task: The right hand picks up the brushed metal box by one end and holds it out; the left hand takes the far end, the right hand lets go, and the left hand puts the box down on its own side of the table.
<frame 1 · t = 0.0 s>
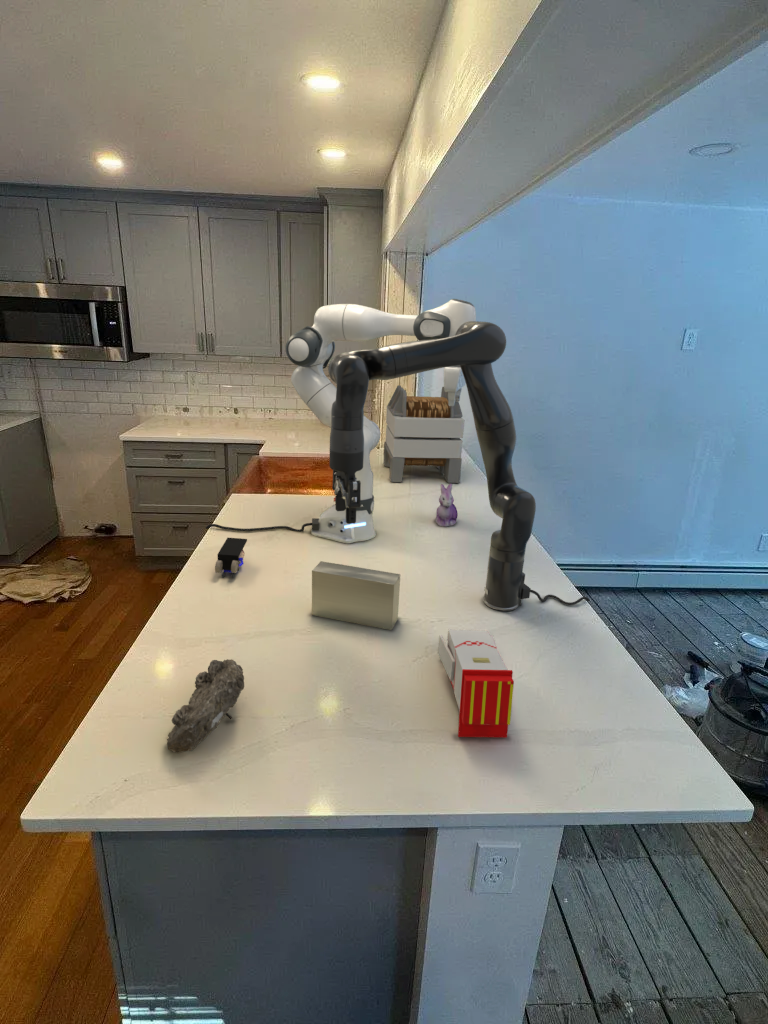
left hand: (454, 403, 174), 48 cm above the counter, tool pointing down, fingers open, 8 cm apart
right hand: (345, 516, 130), 29 cm above the counter, tool pointing down, fingers open, 8 cm apart
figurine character: (232, 569, 168), on the counter
toy: (469, 691, 119), on the counter
transformer: (419, 473, 275), on the counter
fossil: (212, 717, 108), on the counter
box: (354, 616, 145), on the counter
figurine: (446, 523, 212), on the counter
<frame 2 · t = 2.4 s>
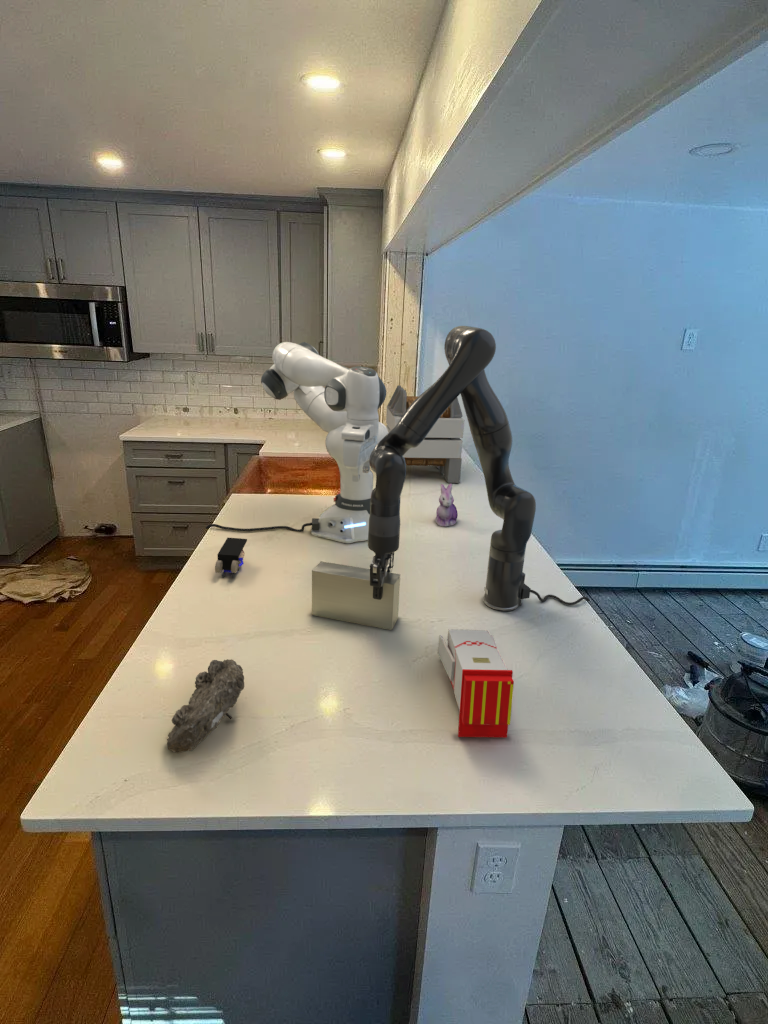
left hand: (361, 476, 160), 30 cm above the counter, tool pointing down, fingers open, 8 cm apart
right hand: (381, 592, 141), 8 cm above the counter, tool pointing down, fingers closed on box, 6 cm apart
box: (354, 616, 145), on the counter, touching right hand
everything else where it was.
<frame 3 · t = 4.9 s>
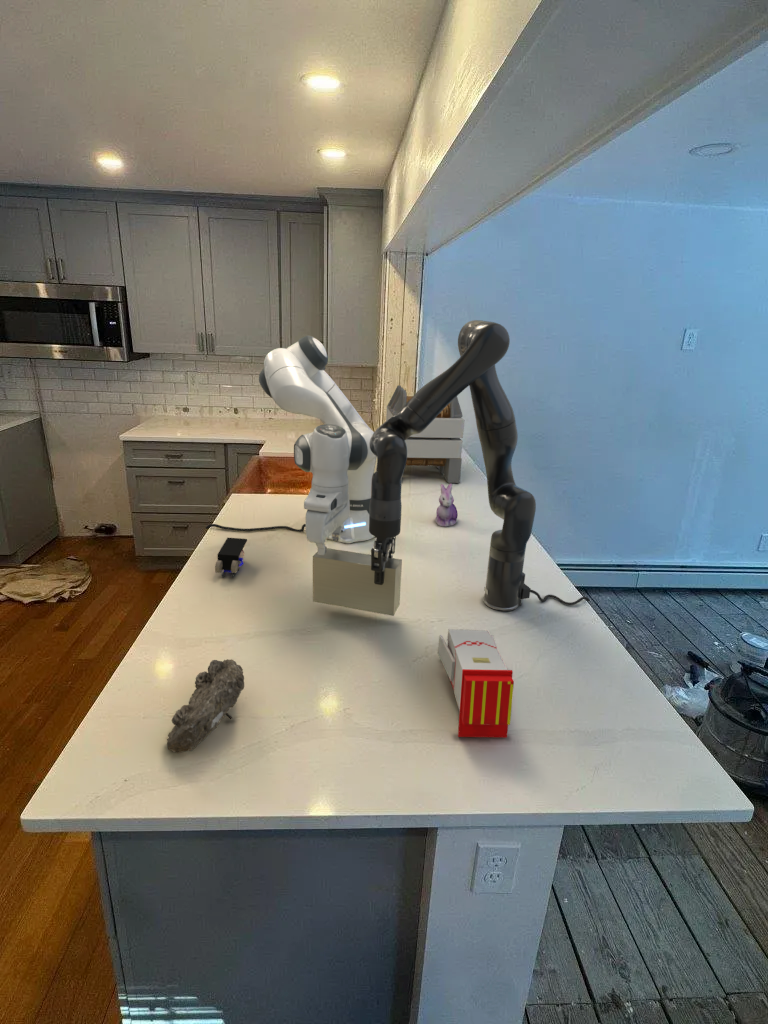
left hand: (329, 546, 141), 18 cm above the counter, tool pointing down, fingers open, 8 cm apart
right hand: (382, 577, 140), 12 cm above the counter, tool pointing down, fingers closed on box, 6 cm apart
box: (356, 603, 144), point 4 cm above the counter, touching right hand
everything else where it was.
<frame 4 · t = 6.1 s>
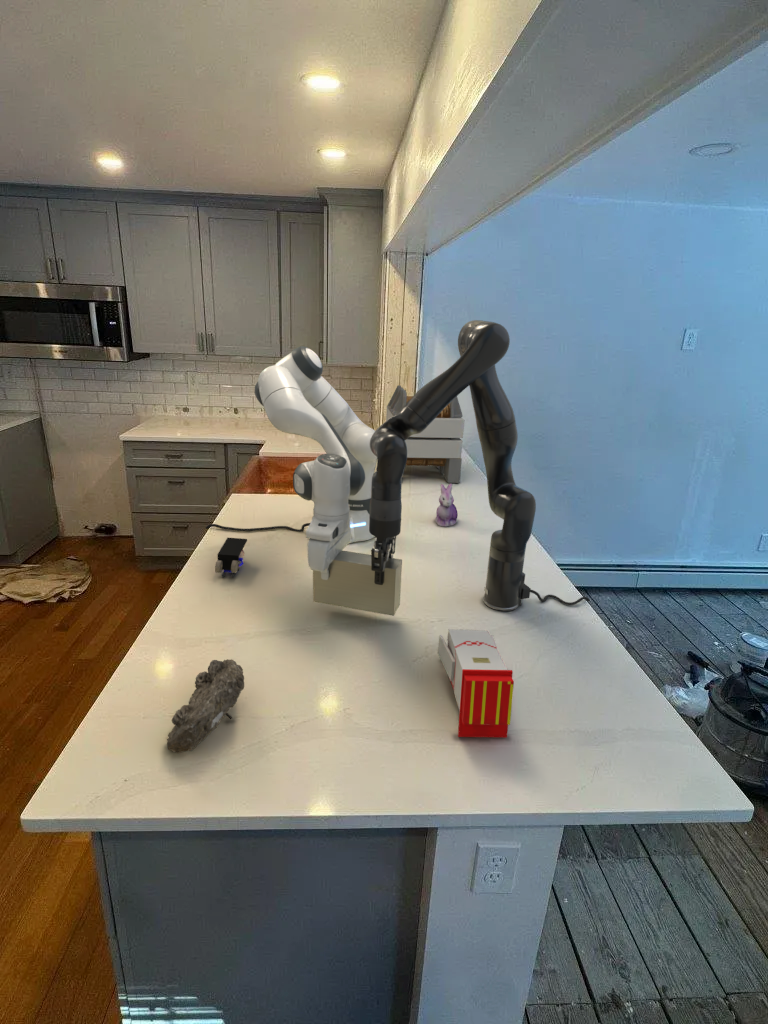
left hand: (330, 572, 143), 11 cm above the counter, tool pointing down, fingers closed on box, 6 cm apart
right hand: (382, 578, 140), 12 cm above the counter, tool pointing down, fingers closed on box, 6 cm apart
box: (356, 603, 144), point 4 cm above the counter, touching left hand, right hand
everything else where it was.
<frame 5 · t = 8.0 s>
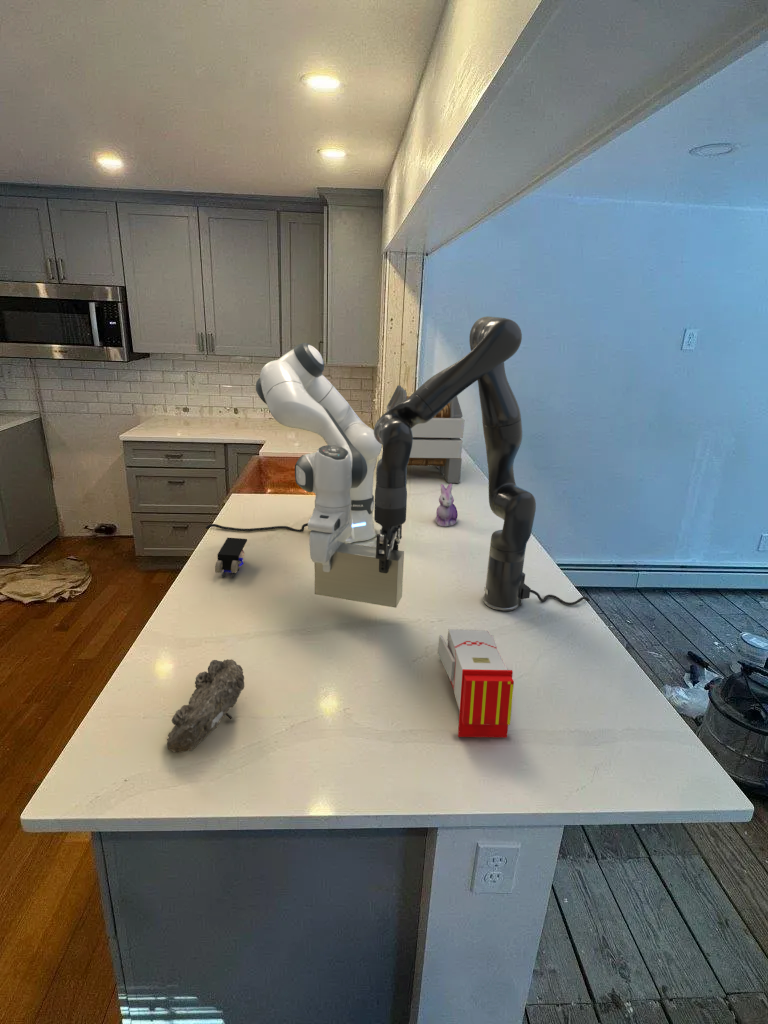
left hand: (332, 564, 142), 13 cm above the counter, tool pointing down, fingers closed on box, 6 cm apart
right hand: (388, 565, 138), 16 cm above the counter, tool pointing down, fingers open, 8 cm apart
box: (358, 595, 143), point 6 cm above the counter, touching left hand
everything else where it was.
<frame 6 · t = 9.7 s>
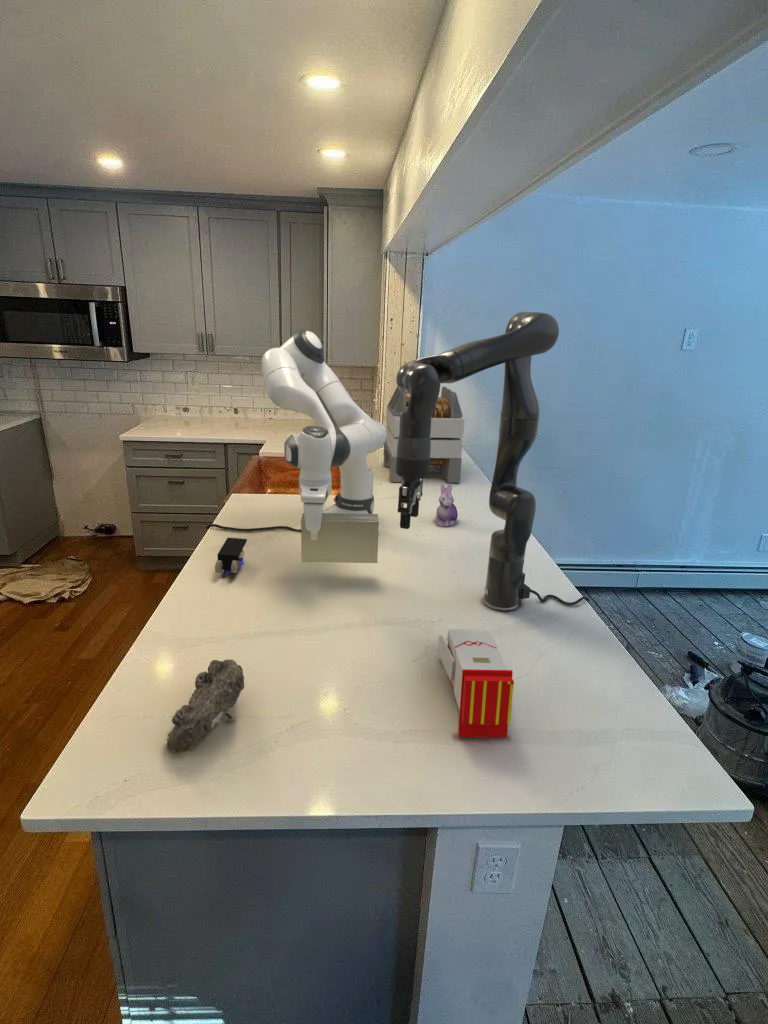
left hand: (315, 533, 159), 14 cm above the counter, tool pointing down, fingers closed on box, 6 cm apart
right hand: (409, 522, 133), 28 cm above the counter, tool pointing down, fingers open, 8 cm apart
box: (339, 558, 162), point 7 cm above the counter, touching left hand
everything else where it was.
when the left hand's fingers open (9 cm above the counter, at t = 11.0 s): box stays where it is, on the counter.
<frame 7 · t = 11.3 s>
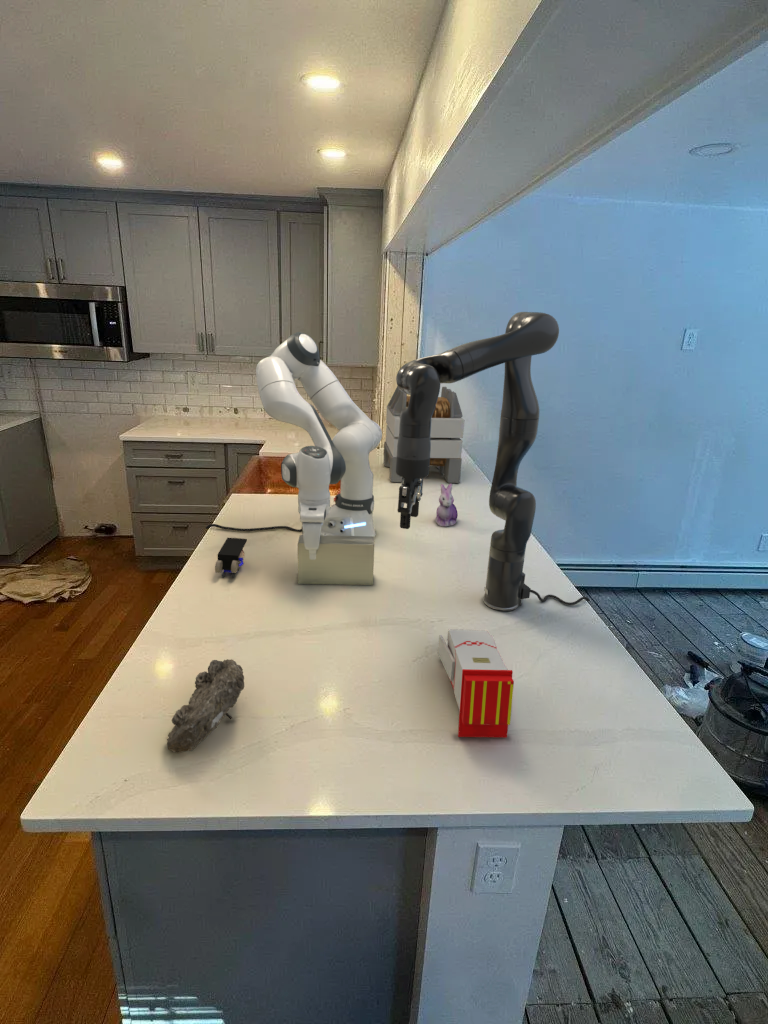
left hand: (314, 551, 161), 9 cm above the counter, tool pointing down, fingers open, 8 cm apart
right hand: (409, 521, 133), 28 cm above the counter, tool pointing down, fingers open, 8 cm apart
box: (335, 579, 164), on the counter
everything else where it was.
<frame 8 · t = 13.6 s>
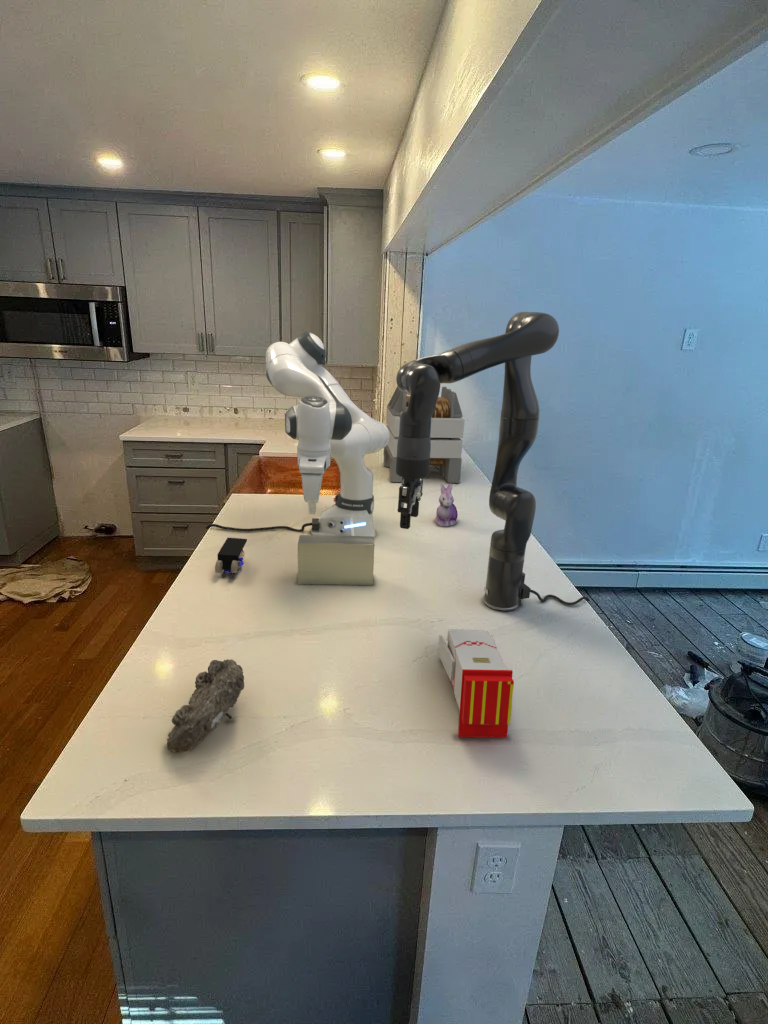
left hand: (313, 507, 156), 22 cm above the counter, tool pointing down, fingers open, 8 cm apart
right hand: (409, 521, 133), 28 cm above the counter, tool pointing down, fingers open, 8 cm apart
nothing on the counter moved.
at the end: box inside the target area (6.4 cm from its centre), on the counter; the left hand is holding nothing; the right hand is holding nothing; box at rest at the end (0.0 cm/s) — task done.
